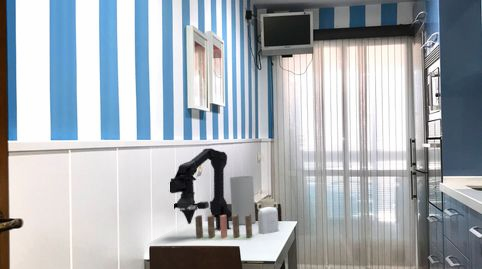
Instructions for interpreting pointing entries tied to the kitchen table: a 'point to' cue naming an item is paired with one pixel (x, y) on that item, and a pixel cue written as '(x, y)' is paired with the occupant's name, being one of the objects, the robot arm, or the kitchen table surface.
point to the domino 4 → (248, 226)
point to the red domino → (223, 226)
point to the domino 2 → (211, 226)
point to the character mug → (267, 203)
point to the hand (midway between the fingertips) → (189, 223)
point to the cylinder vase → (242, 198)
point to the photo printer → (268, 220)
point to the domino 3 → (236, 226)
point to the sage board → (229, 237)
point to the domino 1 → (199, 226)
